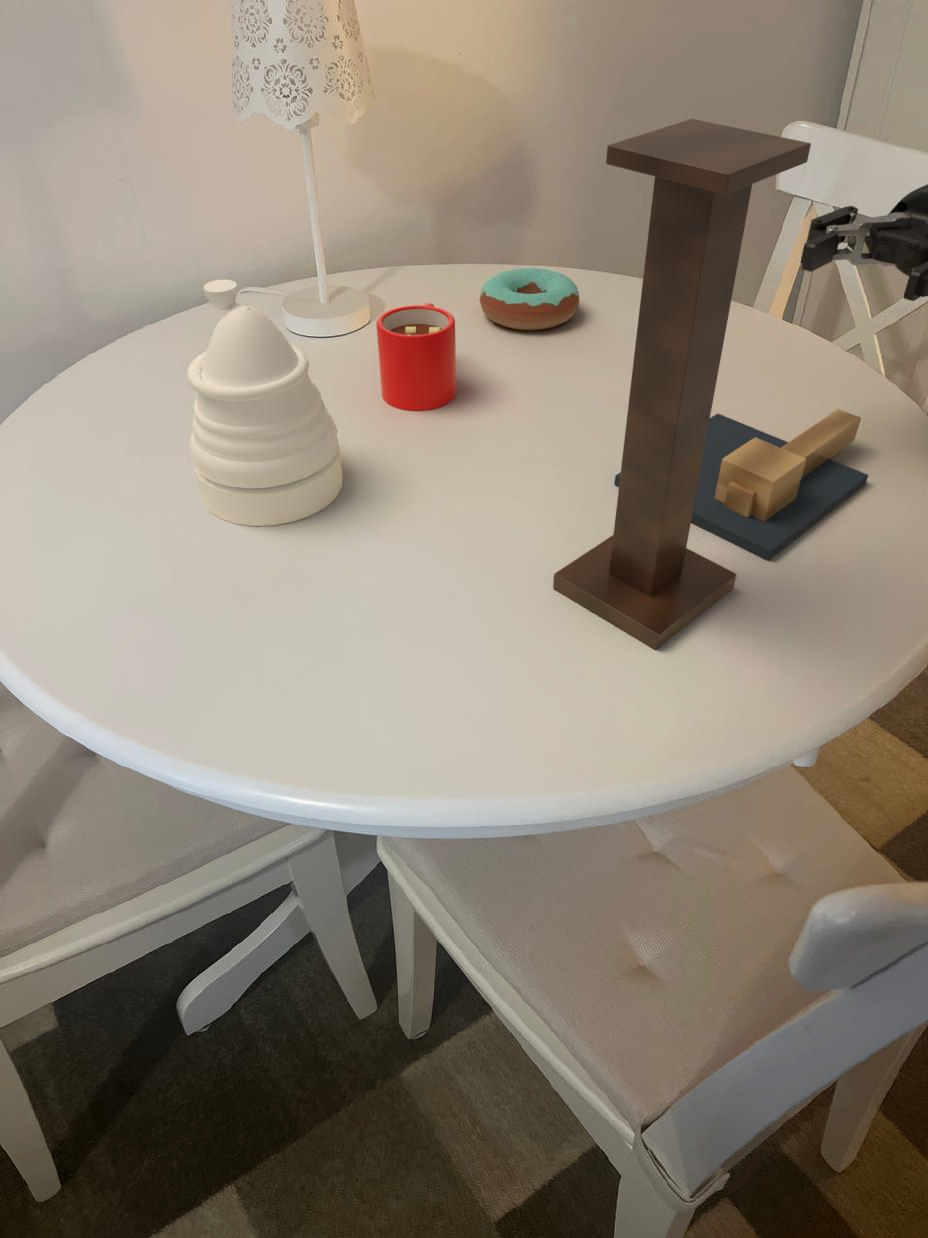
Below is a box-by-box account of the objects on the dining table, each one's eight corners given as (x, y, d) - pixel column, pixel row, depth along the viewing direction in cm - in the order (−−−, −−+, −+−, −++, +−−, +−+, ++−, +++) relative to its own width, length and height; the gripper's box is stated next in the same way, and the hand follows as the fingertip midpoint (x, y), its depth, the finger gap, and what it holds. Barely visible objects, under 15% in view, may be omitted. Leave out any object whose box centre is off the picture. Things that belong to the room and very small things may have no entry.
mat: (865, 484, 83) (868, 474, 82) (768, 561, 75) (771, 551, 74) (715, 421, 92) (717, 412, 91) (613, 484, 84) (615, 475, 83)
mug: (466, 360, 103) (465, 290, 98) (450, 412, 94) (448, 338, 89) (397, 356, 104) (392, 287, 99) (374, 408, 95) (368, 335, 90)
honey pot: (170, 496, 83) (118, 300, 71) (269, 435, 91) (237, 250, 79) (276, 543, 78) (238, 339, 66) (371, 473, 85) (353, 280, 74)
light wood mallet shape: (867, 445, 86) (879, 406, 84) (760, 524, 77) (770, 483, 74) (819, 426, 89) (829, 388, 86) (710, 500, 80) (718, 460, 77)
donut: (598, 313, 112) (601, 280, 109) (533, 345, 106) (535, 311, 103) (524, 287, 118) (525, 256, 116) (459, 315, 112) (458, 283, 109)
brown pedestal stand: (733, 588, 72) (837, 142, 51) (655, 650, 67) (735, 182, 46) (632, 535, 78) (688, 112, 57) (552, 588, 73) (581, 144, 51)
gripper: (885, 158, 81) (785, 200, 72) (1056, 192, 73) (966, 244, 64) (862, 246, 86) (766, 295, 77) (1020, 287, 78) (932, 346, 69)
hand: (857, 272), depth 71 cm, fingers open, 8 cm apart
